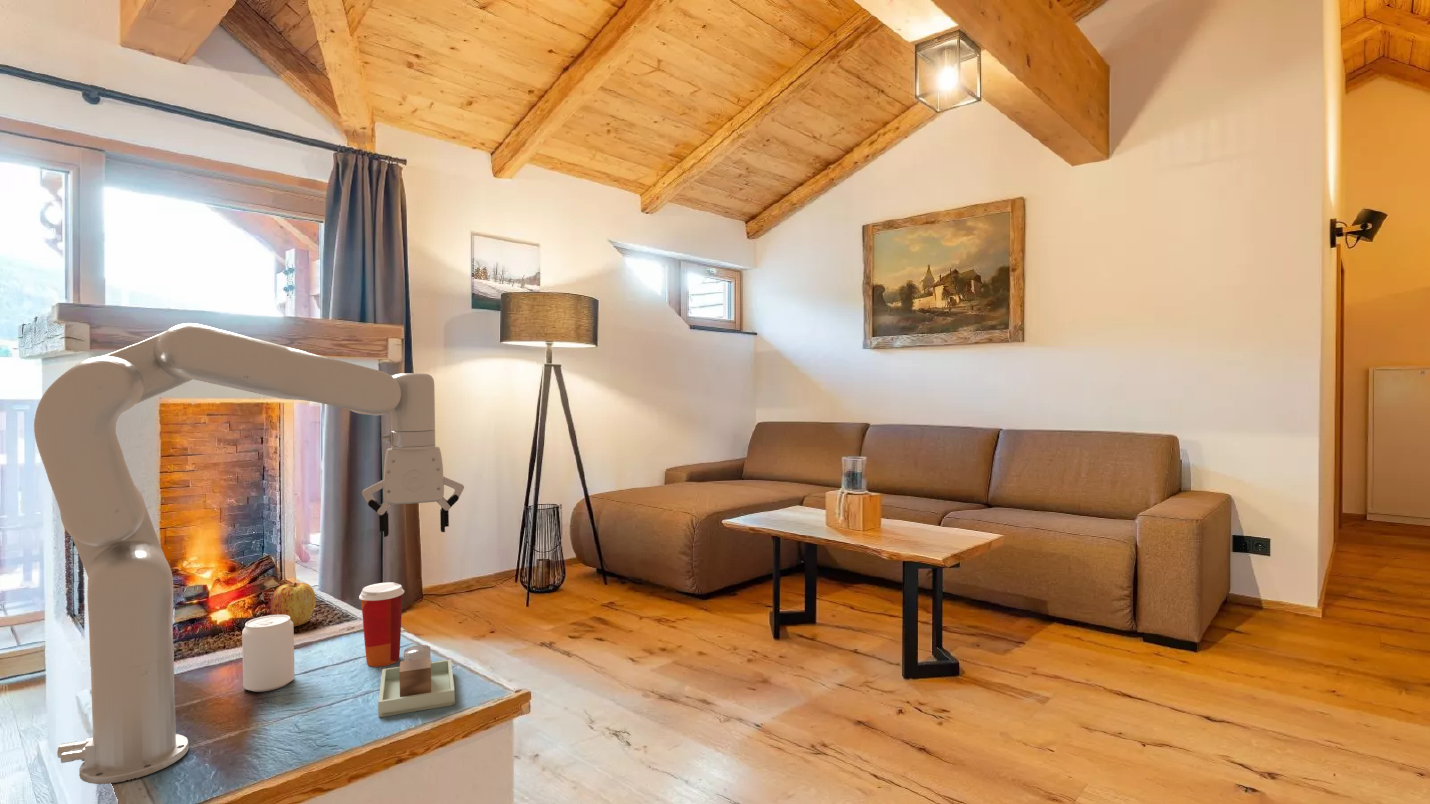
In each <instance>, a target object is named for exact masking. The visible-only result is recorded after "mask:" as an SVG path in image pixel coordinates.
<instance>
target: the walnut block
mask: <svg viewBox="0 0 1430 804" xmlns="http://www.w3.org/2000/svg"><path fill="white" fill-rule="evenodd" d="M431 659H432V658H431V656H430V657H429V658H422V659H415V660H408V661H404V660H402V661H400V662H399V667H400V671H399V675H400V697H405V696H411V695H418V694H424V693H430V692H431V662H432V661H431Z"/></svg>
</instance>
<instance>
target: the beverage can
mask: <svg viewBox="0 0 1430 804" xmlns="http://www.w3.org/2000/svg"><path fill="white" fill-rule="evenodd" d="M294 628H295V627H293V622H292V621H291V620H290V616H288V615H273V614H269V615H264V616H260V617H255V618H253V619H250V620H248V621H246V622H245V624H244V628H243V629H242V632H241V643H242V650H241V651H242V686H243V688H244V689H245V690H248V691H252V692H257V693H261V692H263V693H264V692H269V691H274V690H276V689H277V690H278V689H280V688H282V687H284V686H286V685H287V684H289V683H291V682H292V681H293V680H294V679H295V675H296V674H295V643H294V642H295V641H294V640H295V638H294V637H295V635H294V631H295V630H294Z"/></svg>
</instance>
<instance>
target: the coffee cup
mask: <svg viewBox="0 0 1430 804" xmlns="http://www.w3.org/2000/svg"><path fill="white" fill-rule="evenodd" d="M404 593H405V590H404V589H403V586H402V584H400V583H396V582H390V581H389V582H379V583H373V584H370V585H366V586H364V587H363V588H362V590H361V592H360V594H359V596H358V597H359V598H358V599H359V600H360V601H361V615H362V625H363V637H364V649H365V651H364V652H365V658H366V659H365V661H366V665H367V666H368V667H373V668H383V667H386V666H391V665H394V664H395V663H397V662H399V660H400V656H401V655H400V654H401V635H402V614H403V613H402V612H403V594H404Z"/></svg>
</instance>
